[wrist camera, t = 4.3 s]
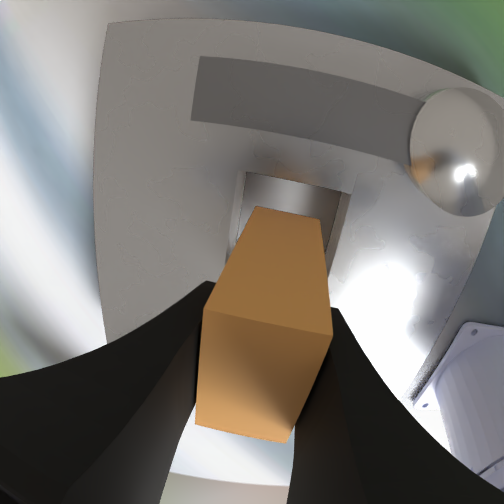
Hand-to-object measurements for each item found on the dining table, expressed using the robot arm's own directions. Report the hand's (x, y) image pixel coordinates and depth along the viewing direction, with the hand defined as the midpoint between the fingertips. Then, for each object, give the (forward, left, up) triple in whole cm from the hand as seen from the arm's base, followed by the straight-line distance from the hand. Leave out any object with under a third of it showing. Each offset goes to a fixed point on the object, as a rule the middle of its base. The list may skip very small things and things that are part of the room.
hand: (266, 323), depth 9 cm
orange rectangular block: (0, 0, -4) cm, 5 cm away
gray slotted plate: (0, 0, -7) cm, 7 cm away
